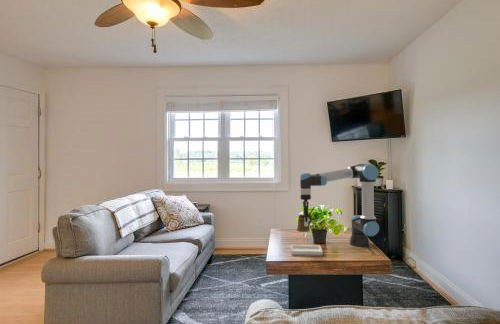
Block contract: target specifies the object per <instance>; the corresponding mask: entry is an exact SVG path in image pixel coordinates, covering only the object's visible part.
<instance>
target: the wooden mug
mask: <svg viewBox="0 0 500 324" xmlns="http://www.w3.org/2000/svg"><path fill="white" fill-rule="evenodd" d="M315 208H316V206H314V207H312V209H311V211H310V212H308V226H304V216H305V215H304V214H299V215H298V217H297V219H298V220H297V221H298V222H297V228H296V231H297V232H299V233H305V232H306V233H308V232H310V225H311V223H312V221H313V217H312V213H313V211H314V210H315Z"/></svg>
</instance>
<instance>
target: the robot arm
mask: <svg viewBox="0 0 500 324" xmlns="http://www.w3.org/2000/svg"><path fill="white" fill-rule="evenodd" d="M379 175H380V174H379V169H378V168H377V167H376V165H374V164H371V163H359V164H356V165H352V166H351V165H350V166H347V168H342V169H337V170H332V171H325V172H322V173H321V172H320V173H315V174H311V173H309V172H303V173H300V176H299V177H300V178H299V179H300V180H299V185H300V189H299V191H300V200H301V201H303V202H302V206H303V215H305V216H304V226H308V221H309V218H308V214H309V204H310V203H309V200H311V199H312V196H311V194H312V192H311V191H312V187H316V186H317V187H322V186H326V185H327V182H332V181H333V182H334V181H338V180H343V179H359V183H360V184H361V215H352V216H351V235H350V239H349V244H350V245H352V246H354V247H369V246H370V239H369V237H374V236H376V235H377V234H378V233H379V231H380V226H379V223H377V217H376V216H375V199H374V198H375V195H374V194H375V191H374V187H375V186H374V184H376V182H377V181H376V180H377V179H378V177H379Z"/></svg>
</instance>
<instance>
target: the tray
mask: <svg viewBox="0 0 500 324" xmlns="http://www.w3.org/2000/svg"><path fill="white" fill-rule="evenodd" d="M290 251H291V253H290V254H291V256H305V257H306V256H311V257H313V256H315V257H323V253H324V252H323V249H322V247H321V245H318V244H317V245H316V244H314V245H311V244H290Z"/></svg>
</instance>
